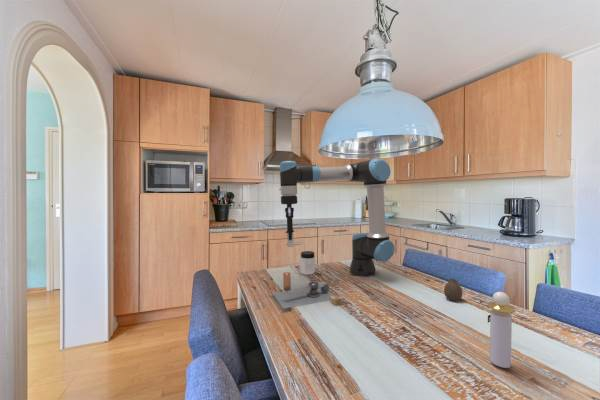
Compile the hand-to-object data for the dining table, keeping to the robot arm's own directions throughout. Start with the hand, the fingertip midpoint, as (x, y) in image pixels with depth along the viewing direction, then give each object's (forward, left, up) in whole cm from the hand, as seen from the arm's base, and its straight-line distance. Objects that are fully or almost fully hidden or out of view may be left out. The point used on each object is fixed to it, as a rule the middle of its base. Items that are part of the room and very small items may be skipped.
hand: (290, 246), depth 120 cm
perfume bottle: (-37, +67, -23) cm, 80 cm away
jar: (-20, -29, -23) cm, 42 cm away
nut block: (-13, +17, -21) cm, 30 cm away
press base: (-4, +7, -23) cm, 24 cm away
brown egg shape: (-64, +31, -23) cm, 75 cm away
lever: (-5, +8, -20) cm, 22 cm away
